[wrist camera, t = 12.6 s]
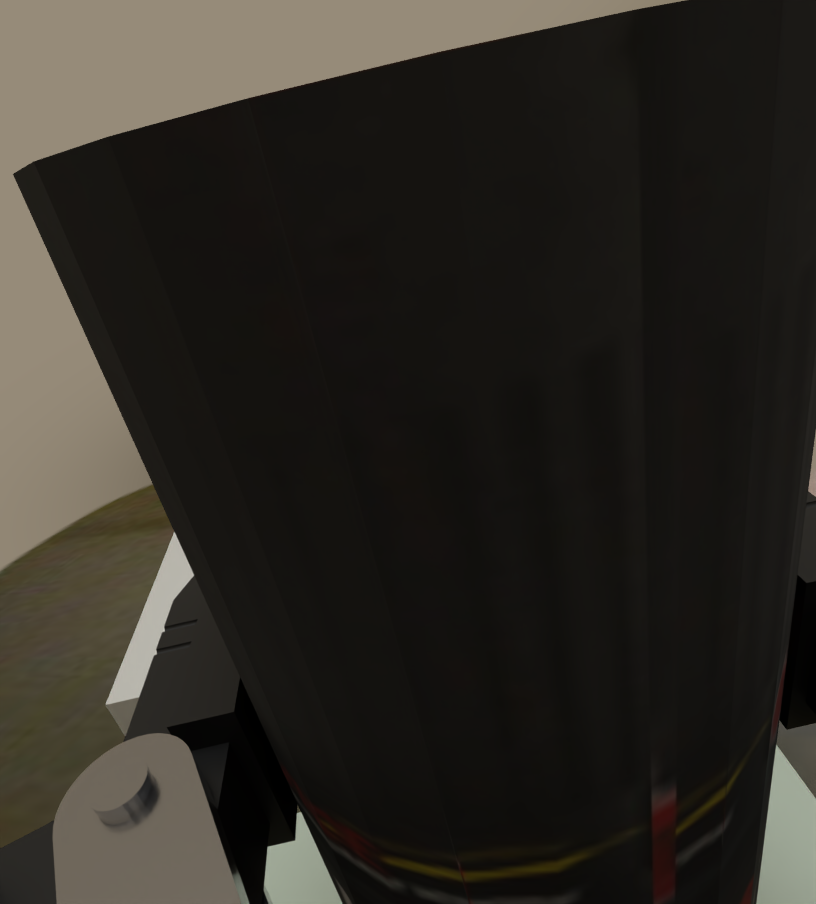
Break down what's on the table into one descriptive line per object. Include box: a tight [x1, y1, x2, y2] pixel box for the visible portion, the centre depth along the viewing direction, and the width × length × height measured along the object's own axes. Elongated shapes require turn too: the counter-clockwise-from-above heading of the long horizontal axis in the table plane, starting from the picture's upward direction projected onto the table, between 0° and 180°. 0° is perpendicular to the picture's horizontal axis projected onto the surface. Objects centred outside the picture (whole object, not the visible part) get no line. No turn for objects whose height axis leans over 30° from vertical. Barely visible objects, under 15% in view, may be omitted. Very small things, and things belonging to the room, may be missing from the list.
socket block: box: [106, 532, 194, 736], centre depth 26 cm, size 16×16×4 cm
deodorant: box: [13, 0, 816, 904], centre depth 8 cm, size 6×6×15 cm
